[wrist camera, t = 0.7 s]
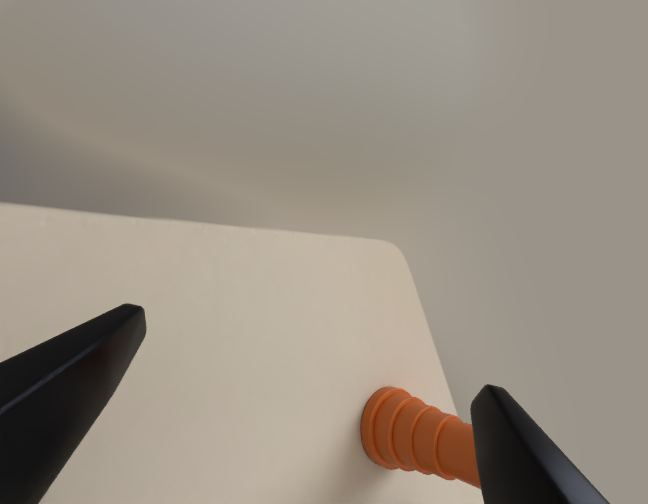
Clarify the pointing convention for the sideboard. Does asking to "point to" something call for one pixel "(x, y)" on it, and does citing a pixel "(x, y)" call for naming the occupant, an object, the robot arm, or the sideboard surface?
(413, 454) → the cone
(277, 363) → the sideboard surface
